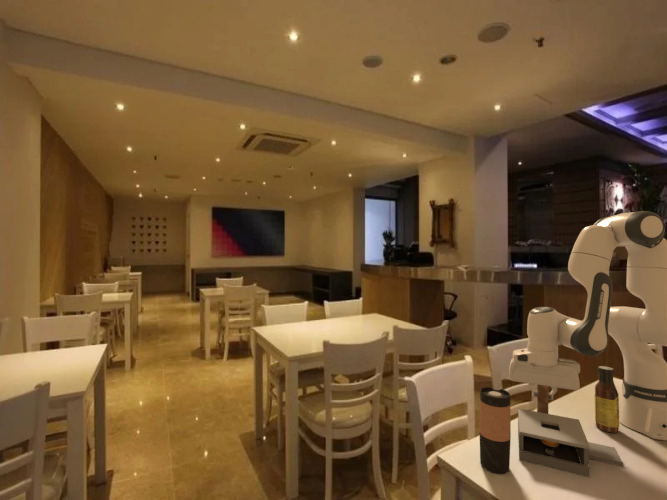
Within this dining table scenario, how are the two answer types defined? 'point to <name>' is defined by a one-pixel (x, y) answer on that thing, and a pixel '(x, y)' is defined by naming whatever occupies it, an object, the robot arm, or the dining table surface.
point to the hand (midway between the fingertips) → (542, 397)
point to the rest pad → (604, 454)
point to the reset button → (550, 443)
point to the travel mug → (495, 430)
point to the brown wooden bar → (542, 399)
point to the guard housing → (553, 440)
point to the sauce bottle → (606, 401)
